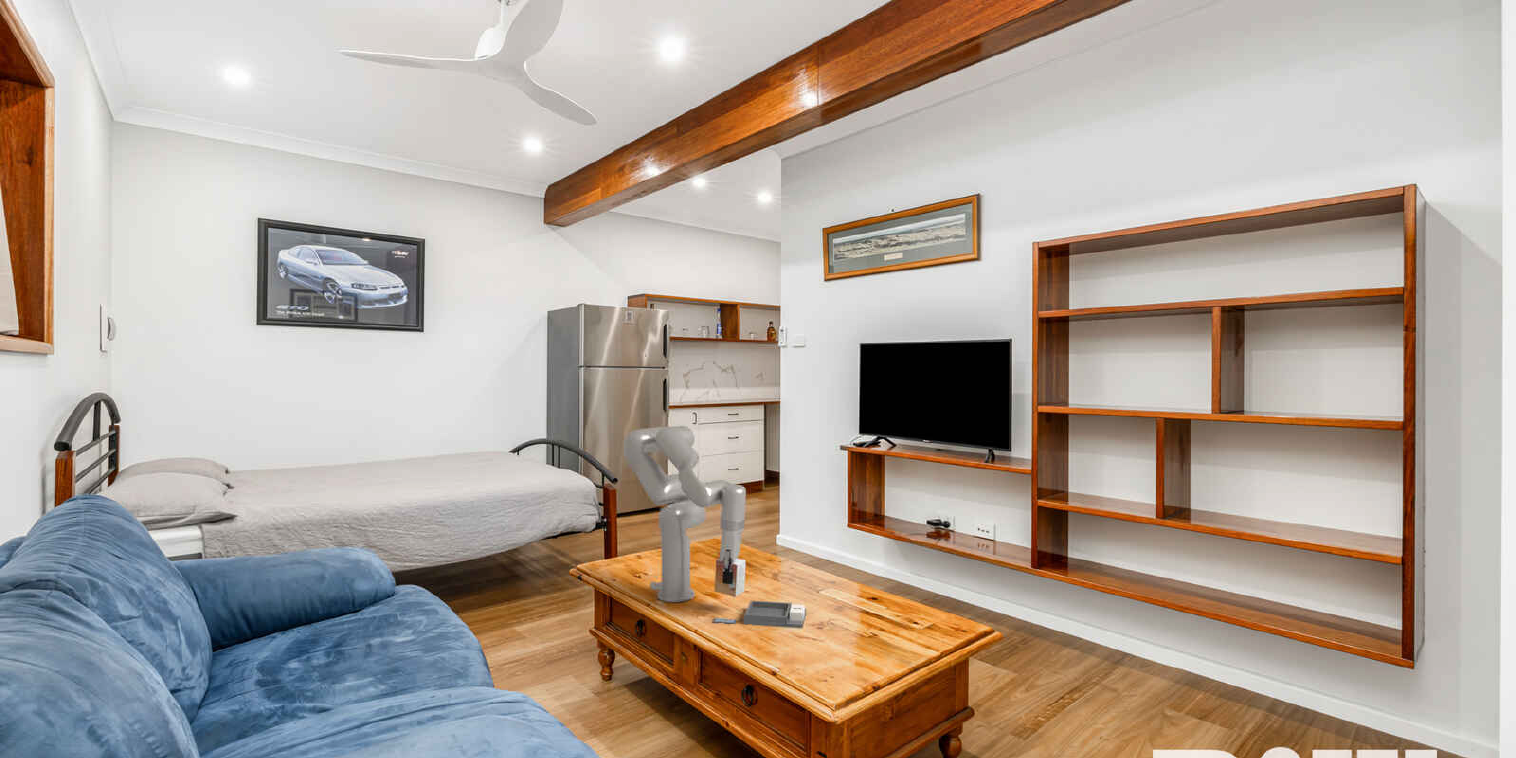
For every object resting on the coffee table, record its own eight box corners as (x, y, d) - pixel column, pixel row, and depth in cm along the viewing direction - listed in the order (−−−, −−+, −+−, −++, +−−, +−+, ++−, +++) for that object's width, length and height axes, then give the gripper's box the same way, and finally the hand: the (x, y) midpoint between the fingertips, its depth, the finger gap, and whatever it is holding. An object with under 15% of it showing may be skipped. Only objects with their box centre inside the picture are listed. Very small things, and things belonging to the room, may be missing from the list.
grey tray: (743, 624, 206) (743, 612, 205) (750, 608, 218) (750, 597, 218) (802, 628, 203) (802, 616, 202) (806, 612, 215) (806, 601, 215)
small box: (714, 592, 215) (715, 559, 215) (722, 586, 220) (724, 555, 220) (735, 597, 212) (737, 564, 211) (744, 592, 217) (746, 559, 216)
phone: (712, 624, 207) (712, 621, 207) (715, 620, 210) (715, 617, 210) (734, 626, 205) (734, 623, 205) (737, 622, 208) (737, 619, 208)
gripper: (726, 516, 224) (724, 569, 225) (714, 530, 207) (712, 587, 208) (748, 518, 222) (746, 571, 224) (738, 533, 205) (736, 590, 207)
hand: (729, 578), depth 216 cm, fingers closed on small box, 6 cm apart
